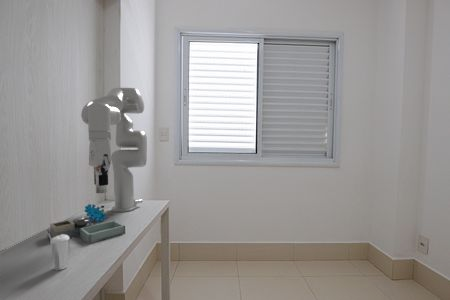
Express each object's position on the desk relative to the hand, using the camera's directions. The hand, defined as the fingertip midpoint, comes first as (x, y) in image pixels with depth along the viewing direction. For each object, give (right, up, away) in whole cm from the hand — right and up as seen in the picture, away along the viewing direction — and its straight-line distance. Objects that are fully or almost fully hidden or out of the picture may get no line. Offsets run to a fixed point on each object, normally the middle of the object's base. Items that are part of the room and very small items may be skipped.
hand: (101, 184), depth 94 cm
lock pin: (0, -3, 0) cm, 3 cm away
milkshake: (0, -20, -24) cm, 32 cm away
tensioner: (-12, -20, +2) cm, 23 cm away
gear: (-12, -19, +18) cm, 29 cm away
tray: (0, -20, +1) cm, 20 cm away
